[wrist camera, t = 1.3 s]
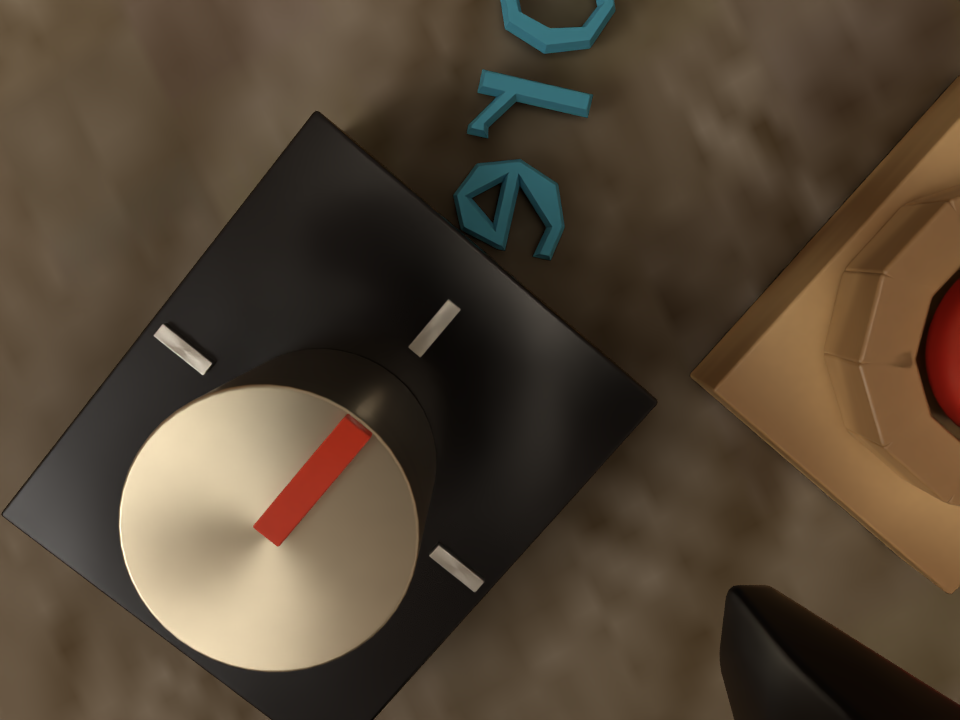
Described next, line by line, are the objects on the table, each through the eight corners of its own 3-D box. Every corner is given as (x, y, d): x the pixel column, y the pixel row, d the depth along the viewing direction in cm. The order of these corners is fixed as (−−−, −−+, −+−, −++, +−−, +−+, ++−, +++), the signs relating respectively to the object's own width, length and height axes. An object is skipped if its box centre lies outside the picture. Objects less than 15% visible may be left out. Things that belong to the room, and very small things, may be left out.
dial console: (353, 695, 22) (330, 772, 19) (68, 476, 21) (-7, 517, 18) (634, 379, 20) (661, 403, 17) (341, 129, 19) (313, 107, 16)
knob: (341, 610, 18) (290, 740, 13) (165, 472, 18) (46, 556, 13) (483, 447, 17) (481, 523, 13) (304, 301, 17) (233, 322, 12)
